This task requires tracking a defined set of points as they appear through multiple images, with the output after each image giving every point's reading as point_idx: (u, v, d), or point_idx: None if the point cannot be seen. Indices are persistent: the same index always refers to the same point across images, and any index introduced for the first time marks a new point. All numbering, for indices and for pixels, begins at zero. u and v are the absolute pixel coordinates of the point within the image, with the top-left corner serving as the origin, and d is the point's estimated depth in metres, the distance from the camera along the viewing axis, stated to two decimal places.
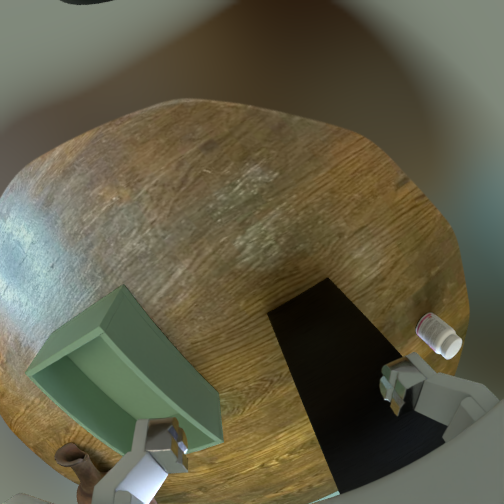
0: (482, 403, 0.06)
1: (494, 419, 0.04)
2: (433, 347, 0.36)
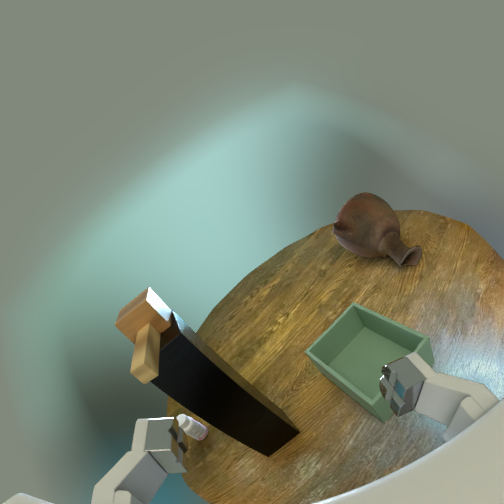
0: (482, 403, 0.06)
1: (494, 419, 0.04)
2: (194, 420, 0.62)
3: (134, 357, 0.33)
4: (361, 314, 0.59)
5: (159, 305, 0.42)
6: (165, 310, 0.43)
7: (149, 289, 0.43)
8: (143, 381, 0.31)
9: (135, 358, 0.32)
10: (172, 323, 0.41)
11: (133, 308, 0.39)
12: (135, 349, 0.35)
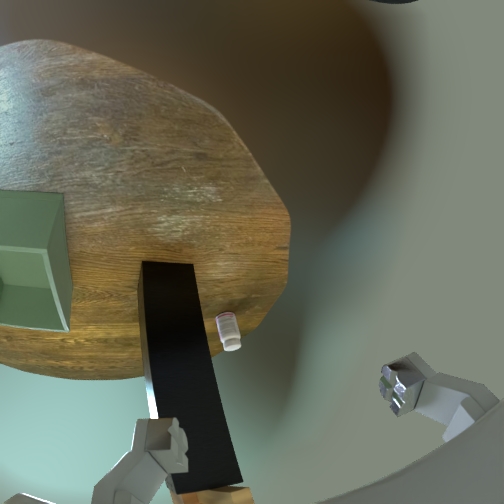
0: (482, 403, 0.06)
1: (494, 419, 0.04)
2: (221, 336, 0.63)
3: None
4: None
5: None
6: (175, 496, 0.27)
7: None
8: (248, 491, 0.23)
9: None
10: None
11: None
12: None
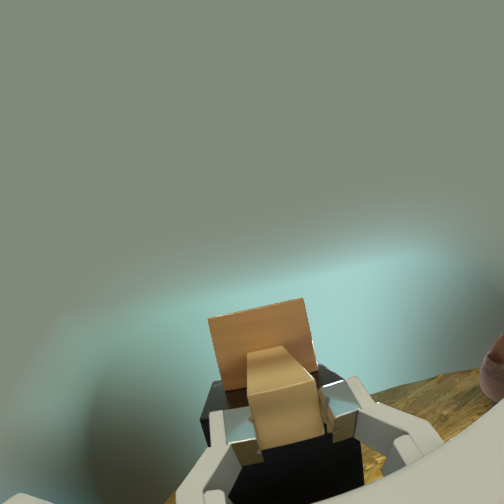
0: (421, 444, 0.05)
1: (494, 419, 0.04)
2: None
3: (256, 374, 0.12)
4: None
5: None
6: None
7: None
8: (266, 439, 0.09)
9: (263, 375, 0.12)
10: (319, 371, 0.19)
11: None
12: (253, 366, 0.14)
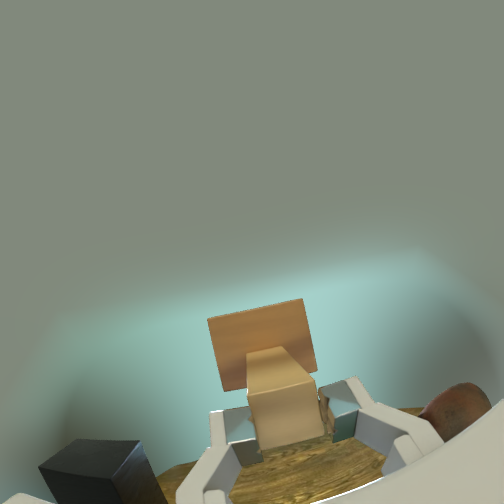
0: (421, 444, 0.05)
1: (494, 419, 0.04)
2: None
3: (256, 375, 0.12)
4: None
5: None
6: None
7: None
8: (265, 439, 0.09)
9: (263, 376, 0.12)
10: (120, 457, 0.19)
11: None
12: (253, 367, 0.14)
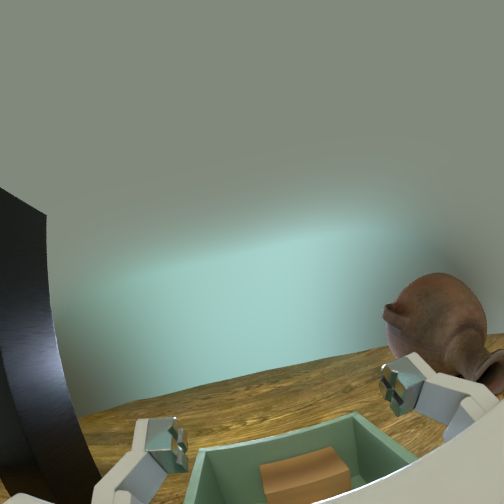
0: (482, 403, 0.06)
1: (494, 419, 0.04)
2: None
3: None
4: (360, 441, 0.20)
5: None
6: None
7: (334, 450, 0.20)
8: None
9: None
10: None
11: (314, 476, 0.17)
12: None
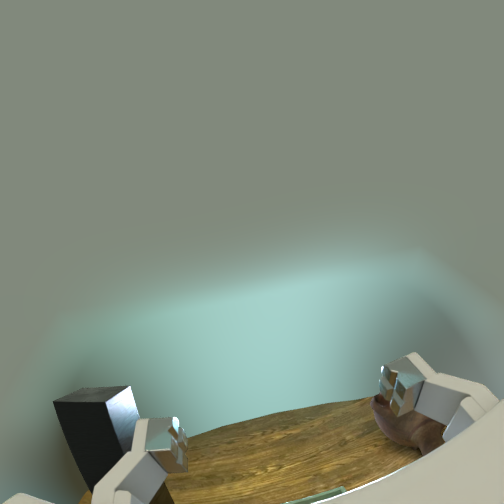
0: (482, 403, 0.06)
1: (494, 419, 0.04)
2: None
3: None
4: None
5: None
6: None
7: None
8: None
9: None
10: (114, 393, 0.31)
11: None
12: None
